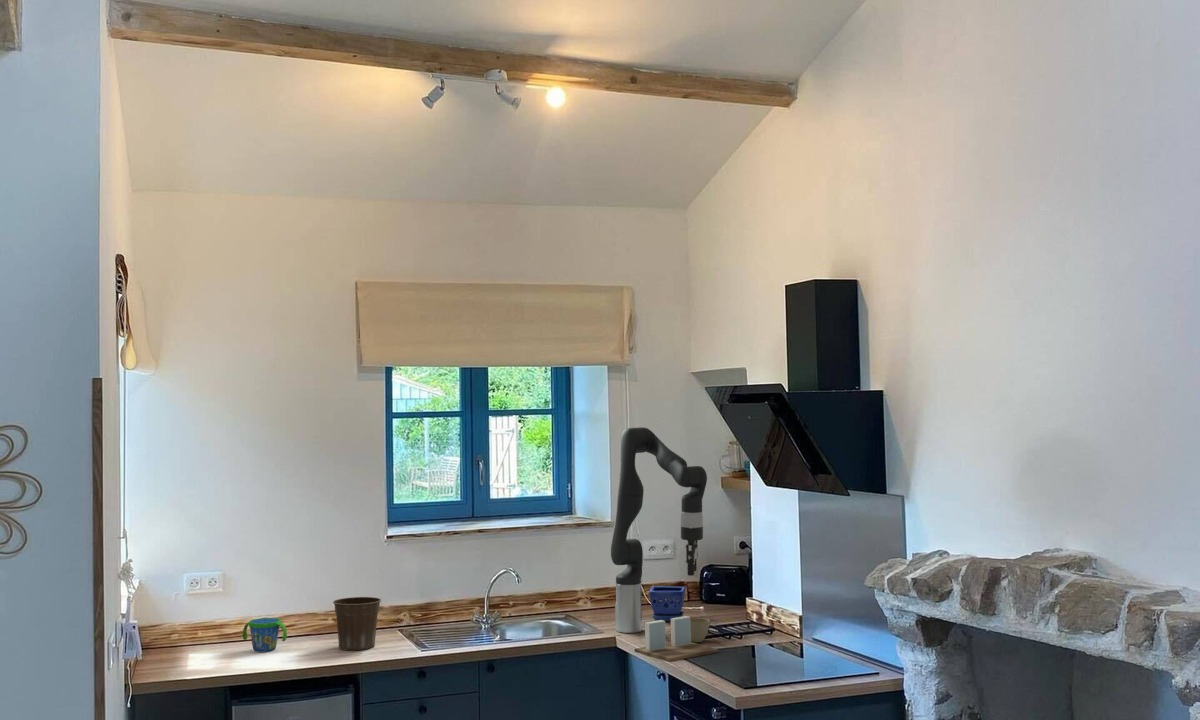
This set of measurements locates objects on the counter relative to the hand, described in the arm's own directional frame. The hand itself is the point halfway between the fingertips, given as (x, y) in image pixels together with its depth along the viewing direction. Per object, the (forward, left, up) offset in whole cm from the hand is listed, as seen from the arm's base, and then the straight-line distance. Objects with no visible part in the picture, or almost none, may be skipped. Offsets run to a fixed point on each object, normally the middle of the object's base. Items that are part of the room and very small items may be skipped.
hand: (692, 573), depth 354 cm
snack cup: (-92, -115, -25) cm, 149 cm away
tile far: (-3, -3, -24) cm, 24 cm away
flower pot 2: (-8, +8, -25) cm, 27 cm away
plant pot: (-76, -88, -25) cm, 119 cm away
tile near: (-3, -14, -24) cm, 28 cm away
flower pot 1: (-45, +26, -25) cm, 57 cm away
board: (+1, -9, -25) cm, 26 cm away
